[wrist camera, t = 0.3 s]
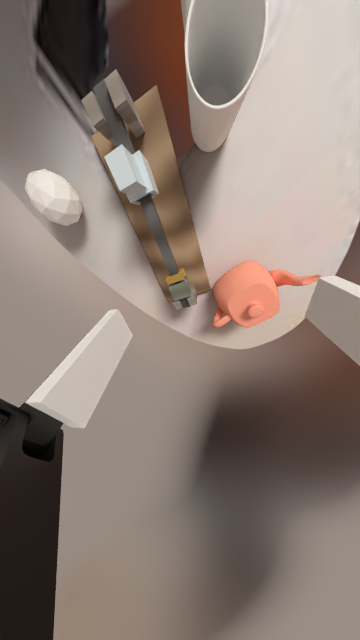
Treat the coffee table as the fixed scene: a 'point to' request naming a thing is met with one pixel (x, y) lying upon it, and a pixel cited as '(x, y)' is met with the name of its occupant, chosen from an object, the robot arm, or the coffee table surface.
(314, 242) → the coffee table surface
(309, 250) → the coffee table surface
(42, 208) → the geometric ball
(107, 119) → the din rail terminal board
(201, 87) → the mug
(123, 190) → the white stepped block
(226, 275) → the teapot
